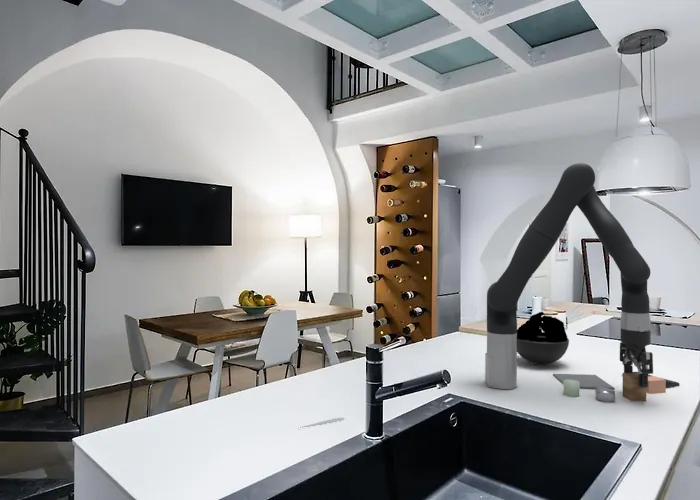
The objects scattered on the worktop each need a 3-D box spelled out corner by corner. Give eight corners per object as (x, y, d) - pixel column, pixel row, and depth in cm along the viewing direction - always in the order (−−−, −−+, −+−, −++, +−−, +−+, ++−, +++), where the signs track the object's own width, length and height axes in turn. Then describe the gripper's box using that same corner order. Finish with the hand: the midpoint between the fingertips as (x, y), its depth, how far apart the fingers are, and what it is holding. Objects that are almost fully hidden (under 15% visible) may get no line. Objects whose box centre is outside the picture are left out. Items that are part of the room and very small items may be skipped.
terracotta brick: (649, 394, 141) (649, 381, 141) (638, 390, 145) (638, 377, 145) (665, 392, 142) (665, 379, 142) (654, 388, 146) (654, 376, 146)
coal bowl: (552, 374, 161) (552, 320, 161) (500, 362, 176) (501, 313, 176) (578, 364, 174) (579, 314, 173) (528, 354, 189) (529, 308, 189)
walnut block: (629, 401, 135) (630, 377, 134) (622, 395, 139) (622, 372, 139) (646, 401, 134) (646, 377, 134) (638, 396, 139) (638, 373, 138)
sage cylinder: (566, 396, 138) (566, 383, 138) (561, 392, 143) (561, 379, 143) (581, 397, 138) (581, 383, 138) (576, 392, 142) (576, 379, 142)
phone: (635, 371, 163) (681, 383, 149) (635, 374, 163) (681, 386, 149) (620, 374, 159) (665, 386, 146) (620, 377, 159) (665, 389, 146)
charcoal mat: (567, 388, 146) (567, 386, 146) (552, 375, 160) (552, 373, 160) (614, 389, 145) (614, 387, 145) (595, 376, 159) (595, 374, 159)
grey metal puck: (599, 403, 133) (599, 392, 133) (592, 397, 138) (592, 387, 138) (618, 403, 133) (618, 393, 133) (610, 397, 138) (610, 387, 138)
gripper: (610, 323, 144) (611, 375, 144) (634, 332, 130) (634, 389, 130) (636, 323, 143) (636, 375, 143) (662, 332, 129) (663, 390, 129)
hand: (635, 382), depth 137 cm, fingers open, 8 cm apart
